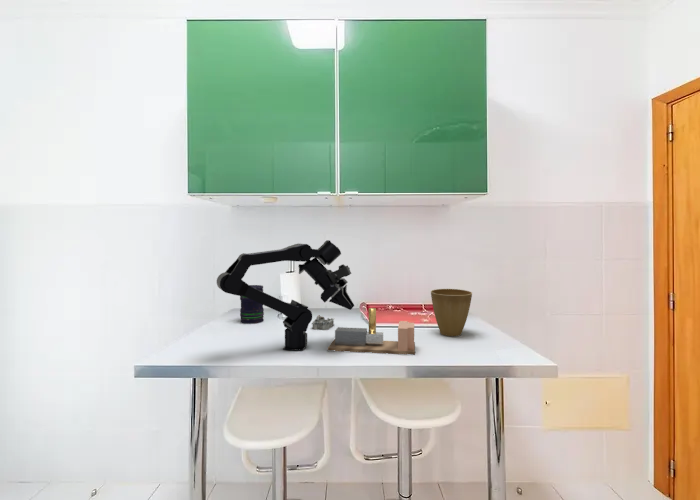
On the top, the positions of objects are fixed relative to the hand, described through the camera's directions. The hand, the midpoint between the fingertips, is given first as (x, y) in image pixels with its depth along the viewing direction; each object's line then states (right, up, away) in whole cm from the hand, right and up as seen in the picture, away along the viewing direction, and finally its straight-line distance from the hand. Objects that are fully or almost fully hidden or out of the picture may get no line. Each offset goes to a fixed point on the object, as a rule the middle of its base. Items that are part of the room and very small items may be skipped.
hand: (352, 307), depth 132 cm
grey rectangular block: (0, -12, +1) cm, 12 cm away
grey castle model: (-11, -12, +29) cm, 33 cm away
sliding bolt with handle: (+3, -11, 0) cm, 12 cm away
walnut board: (+7, -13, 0) cm, 15 cm away
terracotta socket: (+17, -12, -2) cm, 21 cm away
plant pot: (+37, -12, +17) cm, 42 cm away
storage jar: (-43, -12, +39) cm, 59 cm away
